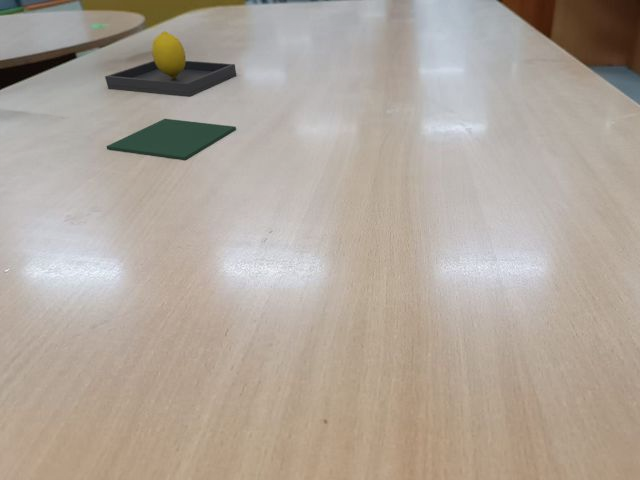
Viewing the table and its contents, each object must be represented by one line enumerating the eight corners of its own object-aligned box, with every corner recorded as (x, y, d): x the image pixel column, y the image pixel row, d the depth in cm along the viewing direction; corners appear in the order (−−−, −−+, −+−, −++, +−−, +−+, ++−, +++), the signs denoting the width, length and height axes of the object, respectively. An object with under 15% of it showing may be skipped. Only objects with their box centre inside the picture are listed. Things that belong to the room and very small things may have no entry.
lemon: (165, 83, 91) (155, 35, 87) (153, 78, 95) (142, 31, 90) (194, 78, 94) (186, 31, 90) (181, 73, 98) (172, 27, 93)
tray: (108, 88, 91) (104, 76, 90) (162, 69, 103) (159, 58, 102) (189, 96, 86) (187, 83, 85) (236, 75, 98) (234, 64, 97)
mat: (106, 149, 66) (106, 146, 66) (165, 121, 75) (164, 118, 75) (185, 160, 63) (184, 156, 62) (236, 129, 72) (235, 126, 72)
